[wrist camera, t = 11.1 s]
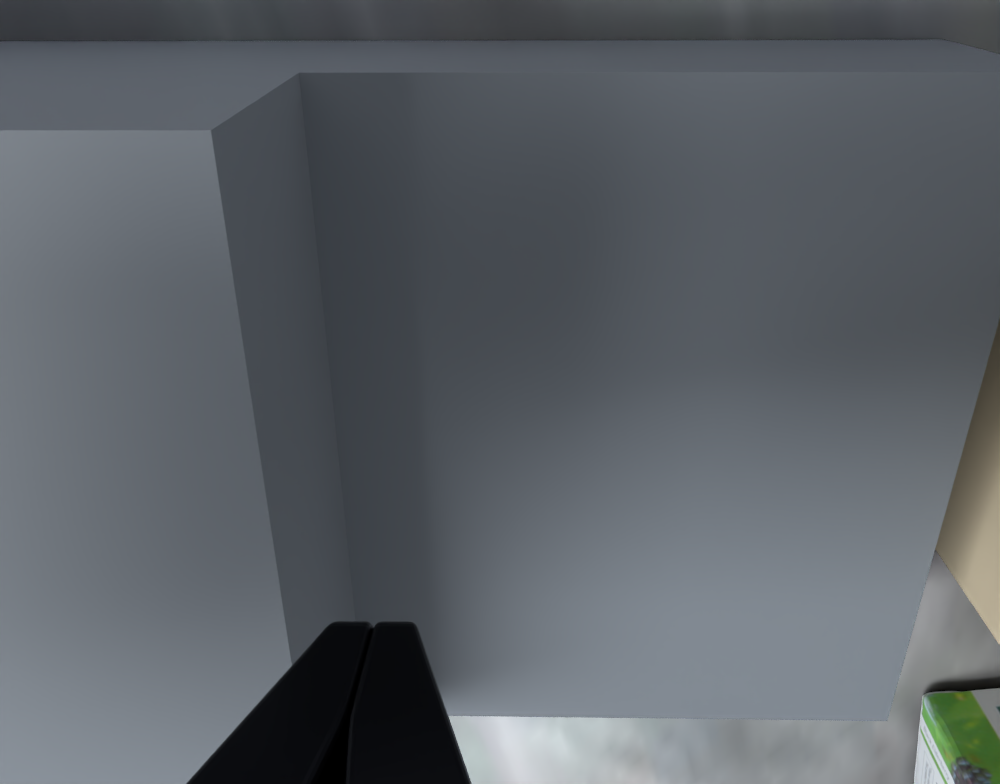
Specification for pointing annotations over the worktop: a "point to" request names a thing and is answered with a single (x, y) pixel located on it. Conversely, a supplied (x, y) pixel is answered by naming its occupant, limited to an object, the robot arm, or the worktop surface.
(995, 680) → the worktop surface
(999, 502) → the maple cube
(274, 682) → the slate stair
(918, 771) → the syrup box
